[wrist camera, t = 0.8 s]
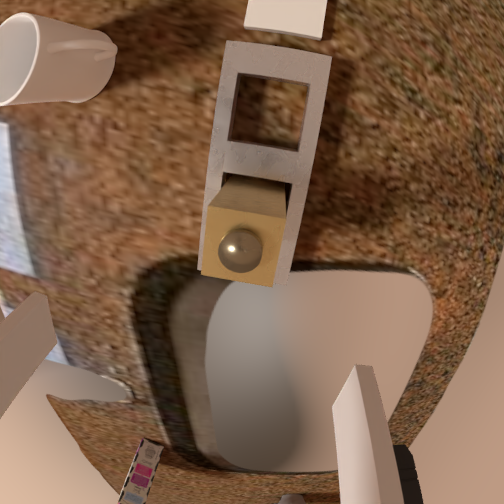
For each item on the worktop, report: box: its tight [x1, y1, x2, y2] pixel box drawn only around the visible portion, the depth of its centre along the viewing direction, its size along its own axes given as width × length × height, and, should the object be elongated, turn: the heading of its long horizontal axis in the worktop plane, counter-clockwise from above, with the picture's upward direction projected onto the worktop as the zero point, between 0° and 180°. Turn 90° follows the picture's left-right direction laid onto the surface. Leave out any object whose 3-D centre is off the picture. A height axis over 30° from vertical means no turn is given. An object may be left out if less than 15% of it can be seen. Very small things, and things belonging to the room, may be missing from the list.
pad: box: [244, 0, 327, 40], centre depth 22 cm, size 7×7×1 cm
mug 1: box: [0, 13, 118, 106], centre depth 20 cm, size 12×8×12 cm
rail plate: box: [197, 41, 332, 285], centre depth 28 cm, size 22×9×2 cm, turn 171°
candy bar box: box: [118, 438, 164, 504], centre depth 47 cm, size 11×5×16 cm, turn 157°
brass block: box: [201, 174, 286, 287], centre depth 25 cm, size 5×5×12 cm
